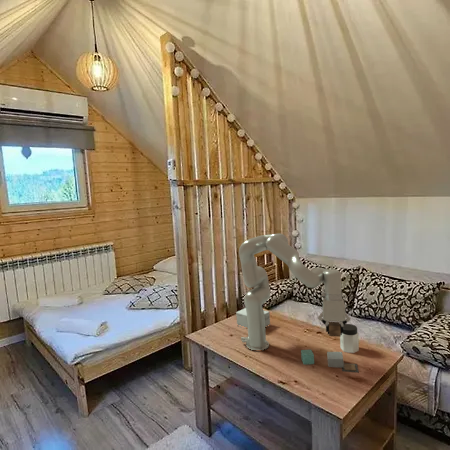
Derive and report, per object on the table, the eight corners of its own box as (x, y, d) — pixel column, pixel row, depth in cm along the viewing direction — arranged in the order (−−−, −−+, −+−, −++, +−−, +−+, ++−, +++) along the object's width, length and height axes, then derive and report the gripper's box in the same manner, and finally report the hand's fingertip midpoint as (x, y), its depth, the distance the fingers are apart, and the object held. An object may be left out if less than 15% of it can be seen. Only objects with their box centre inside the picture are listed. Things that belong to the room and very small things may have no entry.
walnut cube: (329, 336, 154) (328, 325, 153) (328, 331, 158) (328, 321, 158) (340, 336, 152) (340, 326, 152) (339, 332, 157) (339, 321, 156)
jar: (338, 345, 174) (337, 324, 172) (353, 344, 174) (352, 322, 173) (345, 354, 165) (344, 331, 163) (361, 352, 165) (360, 330, 164)
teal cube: (303, 365, 158) (303, 355, 157) (301, 359, 163) (300, 350, 162) (314, 364, 158) (313, 354, 157) (311, 359, 163) (311, 349, 162)
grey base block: (328, 367, 154) (327, 359, 154) (327, 359, 161) (327, 351, 161) (344, 367, 152) (343, 359, 152) (342, 359, 159) (342, 351, 159)
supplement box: (236, 326, 208) (235, 312, 207) (249, 319, 217) (248, 305, 216) (257, 333, 196) (256, 318, 195) (270, 325, 206) (269, 311, 205)
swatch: (342, 371, 150) (342, 370, 150) (341, 363, 157) (341, 362, 156) (358, 372, 148) (358, 371, 148) (356, 364, 155) (356, 363, 155)
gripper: (314, 298, 152) (316, 336, 154) (353, 299, 147) (354, 337, 149) (314, 293, 159) (315, 329, 161) (351, 293, 155) (352, 330, 156)
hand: (334, 333), depth 155 cm, fingers closed on walnut cube, 5 cm apart
